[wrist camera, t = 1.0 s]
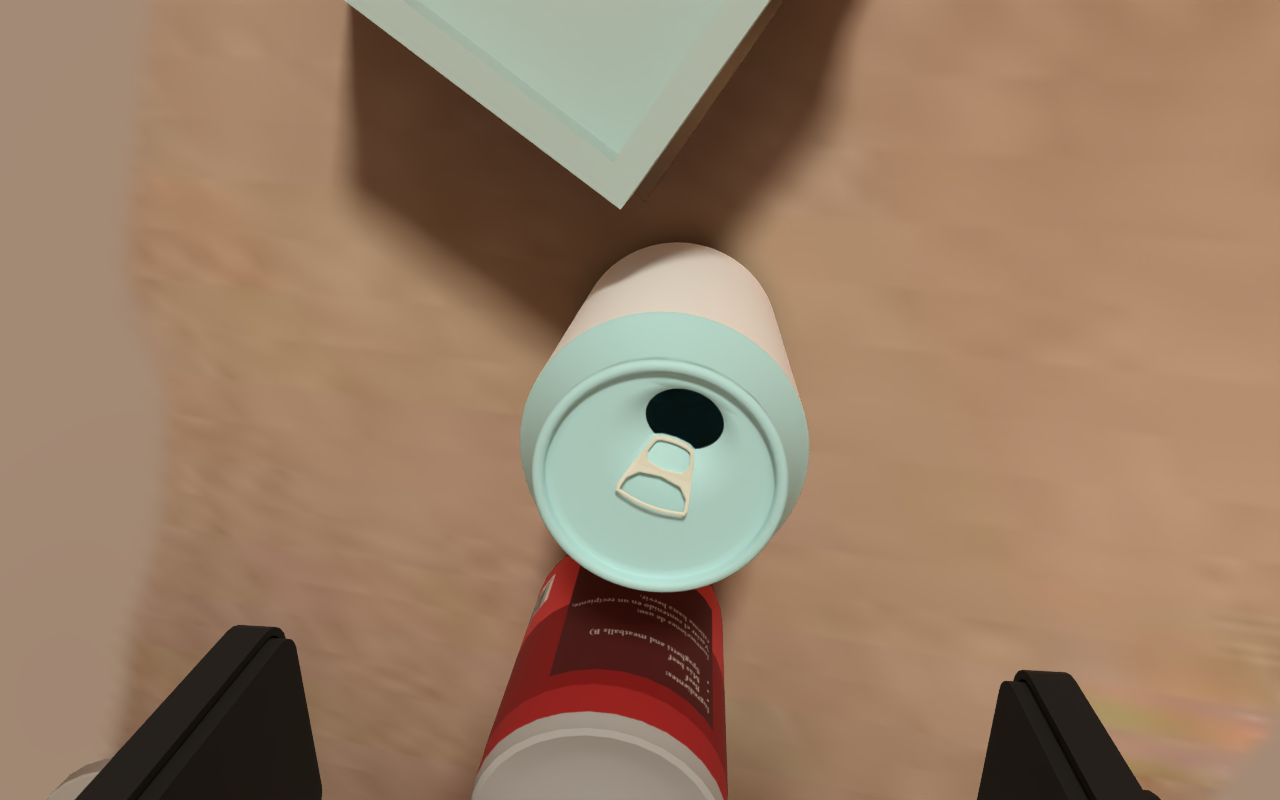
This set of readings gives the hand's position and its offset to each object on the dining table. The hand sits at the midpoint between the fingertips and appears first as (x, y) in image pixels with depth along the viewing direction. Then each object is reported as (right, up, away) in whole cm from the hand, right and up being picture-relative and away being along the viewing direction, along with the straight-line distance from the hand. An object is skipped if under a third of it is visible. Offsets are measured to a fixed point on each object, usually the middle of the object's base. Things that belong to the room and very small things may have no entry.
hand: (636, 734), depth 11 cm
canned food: (0, -4, +23) cm, 23 cm away
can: (+1, +7, +19) cm, 20 cm away
